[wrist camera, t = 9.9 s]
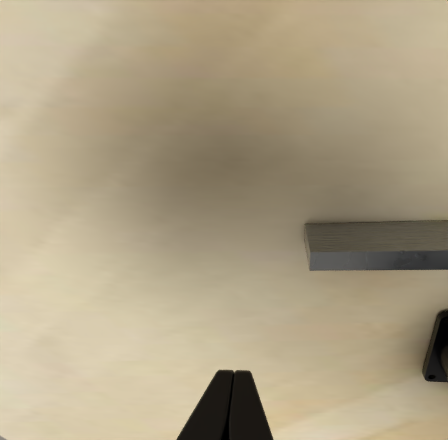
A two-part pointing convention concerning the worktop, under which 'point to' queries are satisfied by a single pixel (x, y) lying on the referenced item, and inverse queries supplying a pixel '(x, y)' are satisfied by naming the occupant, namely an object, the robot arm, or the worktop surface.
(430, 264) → the rail pocket
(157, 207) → the worktop surface
